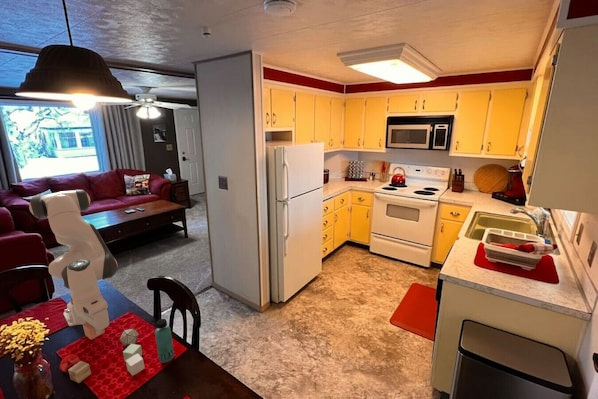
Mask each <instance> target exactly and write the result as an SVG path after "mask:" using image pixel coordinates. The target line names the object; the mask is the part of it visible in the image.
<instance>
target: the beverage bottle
mask: <svg viewBox="0 0 598 399" xmlns="http://www.w3.org/2000/svg"><path fill="white" fill-rule="evenodd" d="M154 335H155V342H156V349H157V357H158V360H159V361H160V362H161V363H168V362H170V361H172V360H173V358H174V356H175V353H174V352H175V351H174V350H175V348H174V342H173V335H172V331H171V327H170V326H169V325H168V322H167V319H165V318H161V319H158V320H157V321H156V329H155V331H154Z"/></svg>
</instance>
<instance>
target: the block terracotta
mask: <svg viewBox="0 0 598 399" xmlns="http://www.w3.org/2000/svg"><path fill="white" fill-rule="evenodd" d="M82 327H83V331H84V335H85V337H87V338H88V339H90V340H91V341H92V340H94V339H96V338H97V337H99V336H101V335H102V334H105V332H106V331H105V329H103V330H101V331H102V332H101V333H100V334H98V335H97V334H96V333H95V331H94V330H95V327H93V326H92V325H90V324H89V323H88V322H87V323H85V324H82Z"/></svg>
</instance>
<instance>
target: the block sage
mask: <svg viewBox="0 0 598 399" xmlns="http://www.w3.org/2000/svg"><path fill="white" fill-rule="evenodd" d="M137 353H138V354H139V355H140V356H141V357H142V355H143V349H142V345H141V344H130V345H128V346H127V347H126V348H125V349H124V350H123V351H122V356H123V361H124V362H126V360H127V359H129V358H130V357H132V356H134V355H136V354H137Z"/></svg>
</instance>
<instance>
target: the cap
mask: <svg viewBox="0 0 598 399" xmlns="http://www.w3.org/2000/svg"><path fill="white" fill-rule="evenodd" d="M80 361H81V360H80V357H79V356H78V354H69V355H66V356H65V357H64V358H63V359H62V360H61V361H60V364H59V370H61V372H63V373H69V371H68V370H69V369H70V368H71V366H74V365H75V364H77V363H78V362H80Z"/></svg>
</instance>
